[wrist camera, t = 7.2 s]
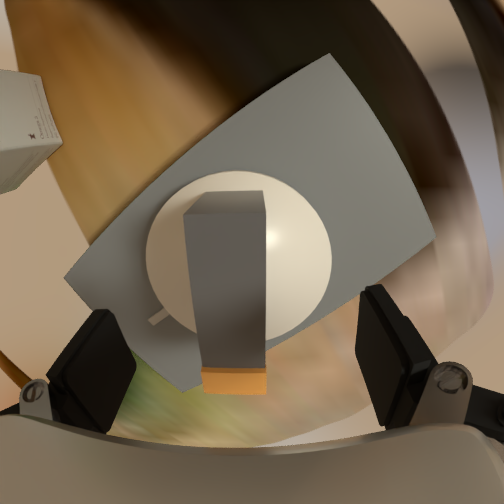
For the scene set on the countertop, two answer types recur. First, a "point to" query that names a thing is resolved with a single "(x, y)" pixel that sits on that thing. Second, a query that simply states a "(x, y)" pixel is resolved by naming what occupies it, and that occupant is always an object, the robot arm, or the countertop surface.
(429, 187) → the countertop surface
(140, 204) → the dial base
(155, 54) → the countertop surface
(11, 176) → the supplement box
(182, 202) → the dial
